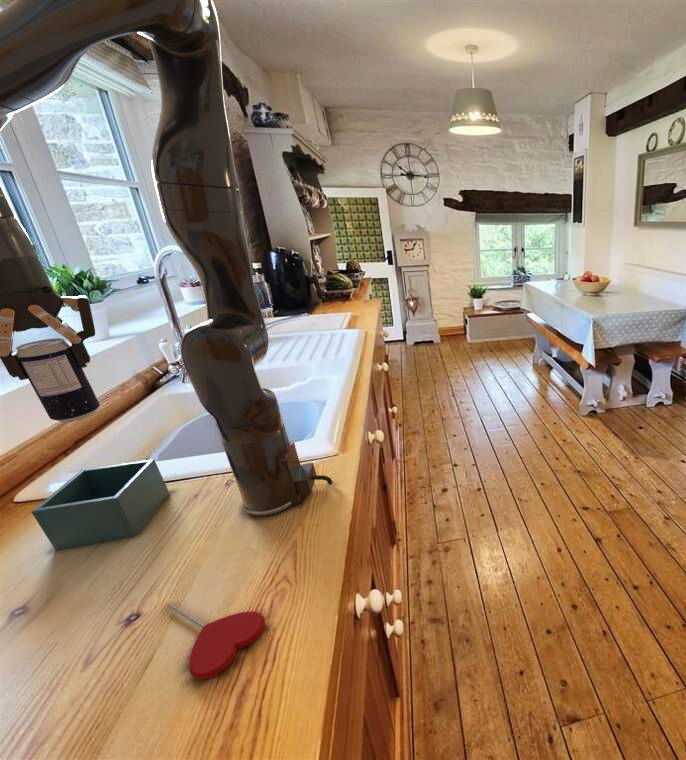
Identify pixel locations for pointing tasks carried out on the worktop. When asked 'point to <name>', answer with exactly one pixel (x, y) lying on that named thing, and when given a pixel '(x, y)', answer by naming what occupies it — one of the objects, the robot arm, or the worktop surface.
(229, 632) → the lollipop
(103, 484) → the bin
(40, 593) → the worktop surface
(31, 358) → the beverage can
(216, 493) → the worktop surface
